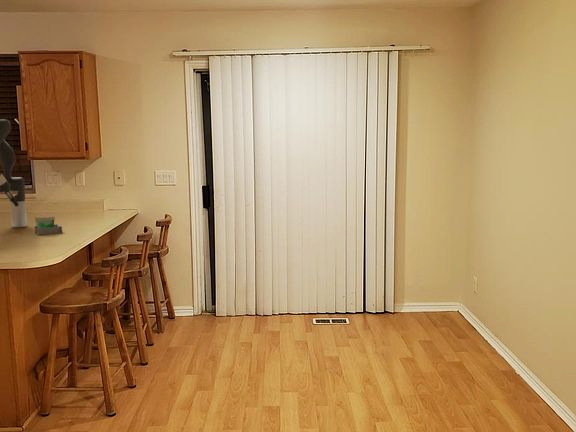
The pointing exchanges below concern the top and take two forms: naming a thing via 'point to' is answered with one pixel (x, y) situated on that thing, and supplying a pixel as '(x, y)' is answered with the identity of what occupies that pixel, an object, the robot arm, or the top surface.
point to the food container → (45, 222)
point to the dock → (49, 230)
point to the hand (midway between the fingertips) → (17, 205)
